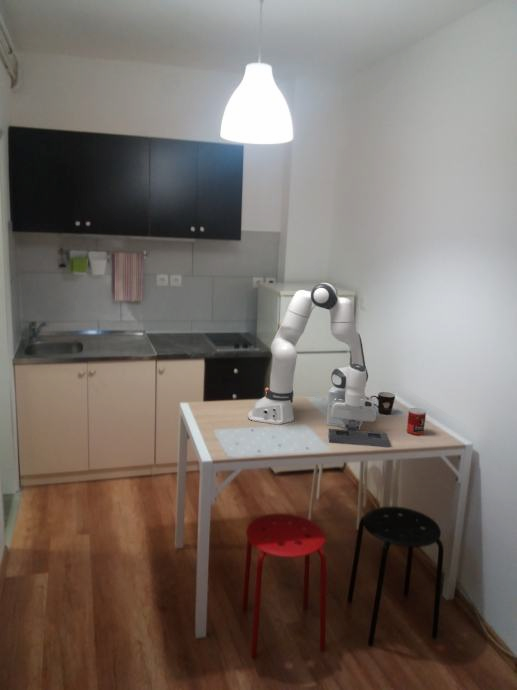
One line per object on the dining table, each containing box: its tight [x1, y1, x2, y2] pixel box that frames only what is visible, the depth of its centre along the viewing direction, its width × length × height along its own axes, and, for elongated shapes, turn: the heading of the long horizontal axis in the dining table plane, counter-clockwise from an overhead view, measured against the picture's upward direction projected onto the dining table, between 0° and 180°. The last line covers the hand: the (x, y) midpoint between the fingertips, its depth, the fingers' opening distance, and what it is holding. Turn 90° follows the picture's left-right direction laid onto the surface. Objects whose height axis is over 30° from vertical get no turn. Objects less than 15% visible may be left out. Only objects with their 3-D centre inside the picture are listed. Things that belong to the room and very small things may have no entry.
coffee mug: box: [370, 391, 396, 416], centre depth 295 cm, size 12×9×10 cm
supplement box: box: [326, 386, 348, 428], centre depth 275 cm, size 10×9×17 cm
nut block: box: [346, 420, 358, 431], centre depth 264 cm, size 4×4×6 cm
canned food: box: [406, 407, 427, 437], centre depth 268 cm, size 8×8×11 cm
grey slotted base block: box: [327, 428, 390, 448], centre depth 256 cm, size 26×9×3 cm, turn 85°
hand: (351, 428), depth 264 cm, fingers closed on nut block, 4 cm apart
